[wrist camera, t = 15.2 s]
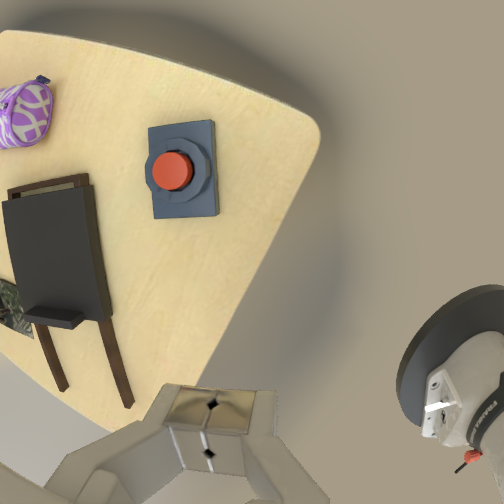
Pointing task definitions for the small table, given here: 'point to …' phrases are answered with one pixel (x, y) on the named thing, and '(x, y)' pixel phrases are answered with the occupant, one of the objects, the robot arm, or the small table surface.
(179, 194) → the button block
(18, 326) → the eiffel tower figurine
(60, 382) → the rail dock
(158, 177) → the button
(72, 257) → the lid
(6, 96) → the pencil case
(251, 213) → the small table surface
